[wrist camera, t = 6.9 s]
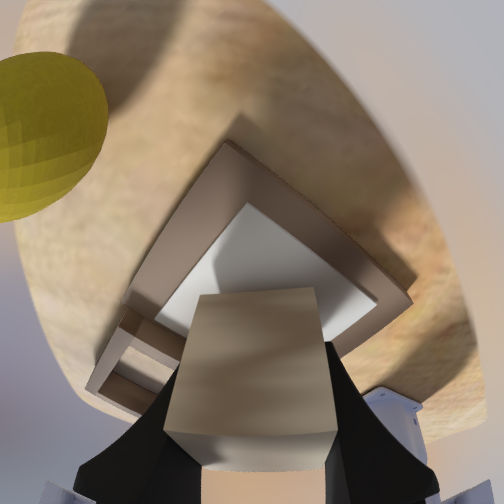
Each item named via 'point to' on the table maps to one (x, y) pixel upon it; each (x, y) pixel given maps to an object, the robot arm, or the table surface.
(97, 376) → the brown divided tray
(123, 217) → the table surface
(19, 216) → the lemon
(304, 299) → the block
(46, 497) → the robot arm
